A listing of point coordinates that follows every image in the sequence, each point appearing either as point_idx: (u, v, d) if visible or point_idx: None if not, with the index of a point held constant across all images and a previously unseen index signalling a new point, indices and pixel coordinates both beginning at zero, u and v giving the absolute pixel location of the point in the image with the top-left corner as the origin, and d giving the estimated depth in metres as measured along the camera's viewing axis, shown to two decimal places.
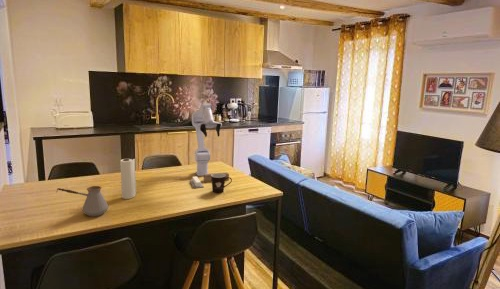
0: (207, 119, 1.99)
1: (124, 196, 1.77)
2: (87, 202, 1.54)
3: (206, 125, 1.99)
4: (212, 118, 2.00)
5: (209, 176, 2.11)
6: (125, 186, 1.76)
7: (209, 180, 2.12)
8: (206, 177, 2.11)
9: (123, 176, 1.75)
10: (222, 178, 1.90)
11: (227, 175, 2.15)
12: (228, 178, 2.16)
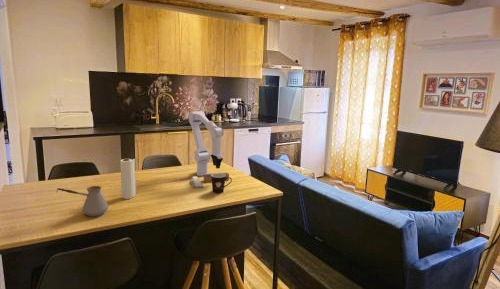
0: (220, 150, 2.11)
1: (124, 196, 1.77)
2: (87, 202, 1.54)
3: None
4: None
5: (209, 176, 2.11)
6: (125, 186, 1.76)
7: (209, 180, 2.12)
8: (206, 177, 2.11)
9: (123, 176, 1.75)
10: (222, 178, 1.90)
11: (227, 175, 2.15)
12: (228, 178, 2.16)
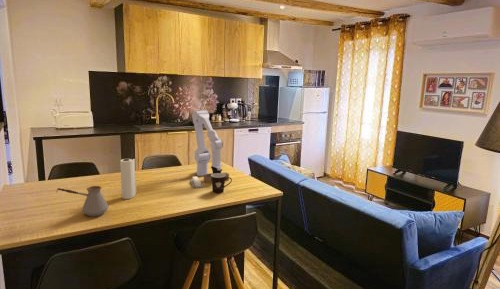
0: (220, 162, 2.12)
1: (124, 196, 1.77)
2: (87, 202, 1.54)
3: None
4: None
5: (209, 176, 2.11)
6: (125, 186, 1.76)
7: (209, 180, 2.12)
8: (206, 177, 2.11)
9: (123, 176, 1.75)
10: (222, 178, 1.90)
11: (227, 175, 2.15)
12: (228, 178, 2.16)
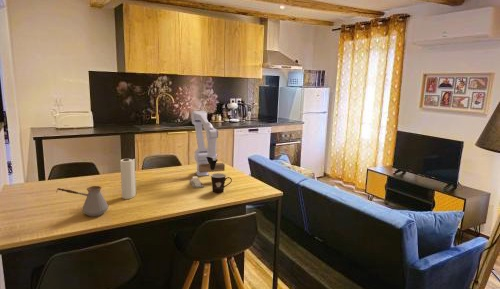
0: None
1: (124, 196, 1.77)
2: (87, 202, 1.54)
3: (213, 157, 2.08)
4: None
5: (204, 166, 2.07)
6: (125, 186, 1.76)
7: (204, 170, 2.08)
8: (201, 167, 2.07)
9: (123, 176, 1.75)
10: (222, 178, 1.90)
11: (223, 165, 2.12)
12: (224, 168, 2.12)
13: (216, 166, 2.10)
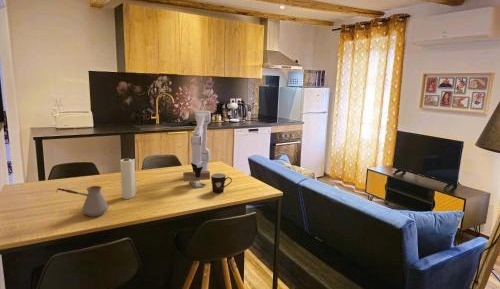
0: (200, 159, 2.02)
1: (124, 196, 1.77)
2: (87, 202, 1.54)
3: None
4: None
5: (189, 175, 2.01)
6: (125, 186, 1.76)
7: (189, 179, 2.02)
8: (186, 176, 2.01)
9: (123, 176, 1.75)
10: (222, 178, 1.90)
11: (208, 173, 2.05)
12: (209, 177, 2.06)
13: (201, 174, 2.04)
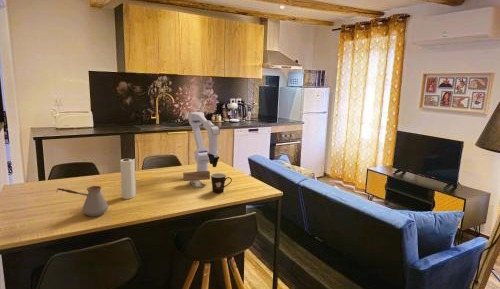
0: (217, 149, 2.11)
1: (124, 196, 1.77)
2: (87, 202, 1.54)
3: None
4: None
5: (189, 175, 2.01)
6: (125, 186, 1.76)
7: (189, 179, 2.02)
8: (186, 176, 2.01)
9: (123, 176, 1.75)
10: (222, 178, 1.90)
11: (208, 173, 2.05)
12: (209, 177, 2.06)
13: (201, 174, 2.04)
